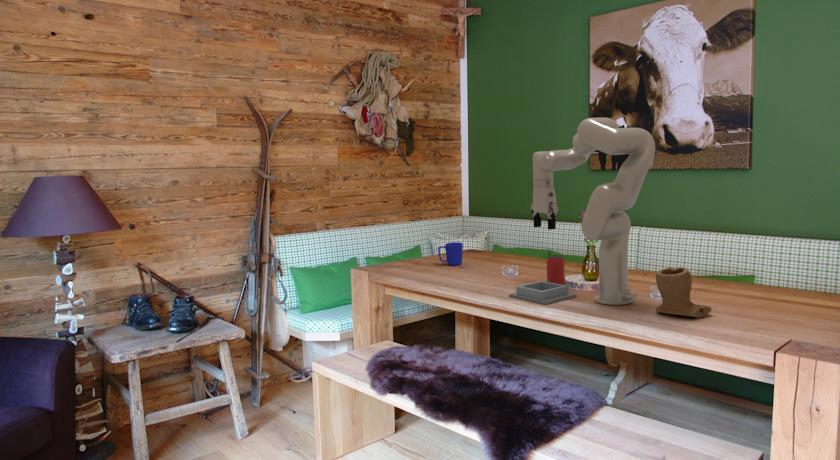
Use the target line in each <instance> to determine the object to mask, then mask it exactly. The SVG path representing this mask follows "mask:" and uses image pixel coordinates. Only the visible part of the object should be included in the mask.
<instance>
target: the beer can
mask: <svg viewBox="0 0 840 460" xmlns="http://www.w3.org/2000/svg"><path fill="white" fill-rule="evenodd" d="M563 257H564V256H563V255H562V254H561V255H559V254H551V255H548V256H547V260H546V282H550V283H555V284H561V285H565V260H564V258H563Z"/></svg>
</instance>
